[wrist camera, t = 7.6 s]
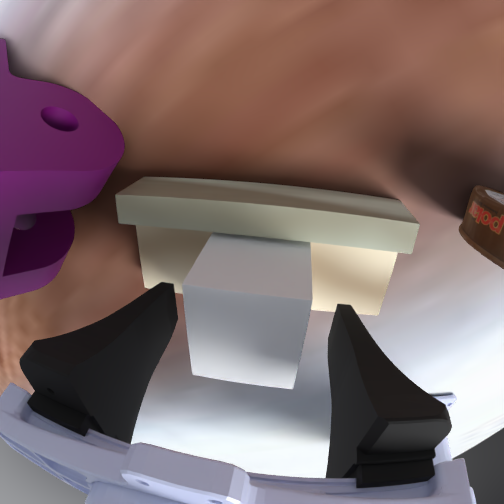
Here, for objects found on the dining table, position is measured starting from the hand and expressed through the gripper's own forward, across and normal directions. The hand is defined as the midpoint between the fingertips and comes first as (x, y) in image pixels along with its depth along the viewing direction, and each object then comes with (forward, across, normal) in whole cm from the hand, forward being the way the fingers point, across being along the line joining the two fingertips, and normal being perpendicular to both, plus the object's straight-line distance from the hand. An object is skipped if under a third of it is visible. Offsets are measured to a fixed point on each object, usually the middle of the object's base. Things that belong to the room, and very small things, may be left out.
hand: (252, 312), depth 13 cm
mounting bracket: (+5, +17, -8) cm, 20 cm away
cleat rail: (+5, 0, 0) cm, 5 cm away
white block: (+3, 0, 0) cm, 4 cm away
